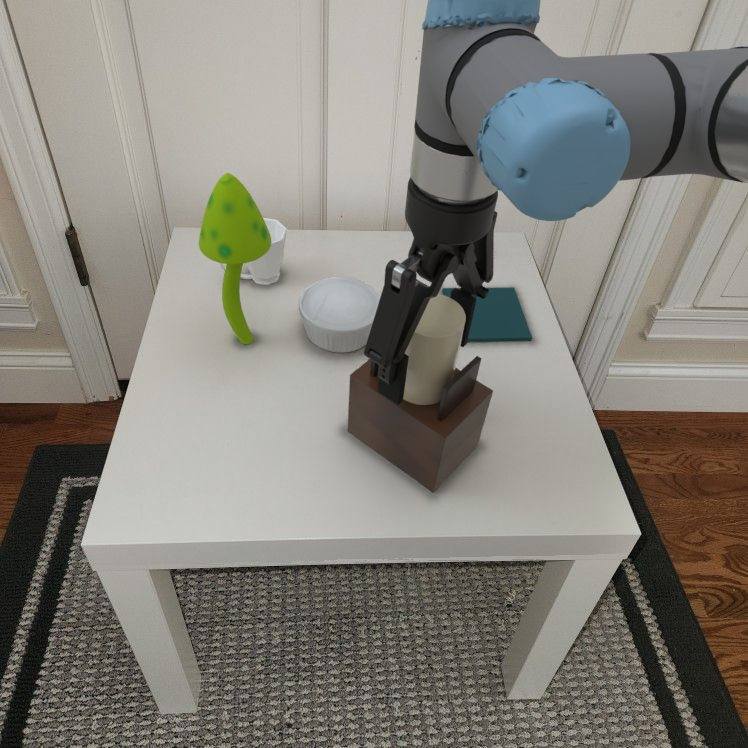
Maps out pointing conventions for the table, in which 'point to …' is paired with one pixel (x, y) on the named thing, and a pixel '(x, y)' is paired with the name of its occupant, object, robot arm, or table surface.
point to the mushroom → (233, 243)
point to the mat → (497, 317)
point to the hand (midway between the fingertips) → (423, 367)
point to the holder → (420, 423)
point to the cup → (268, 256)
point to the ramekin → (338, 313)
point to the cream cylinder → (434, 351)
